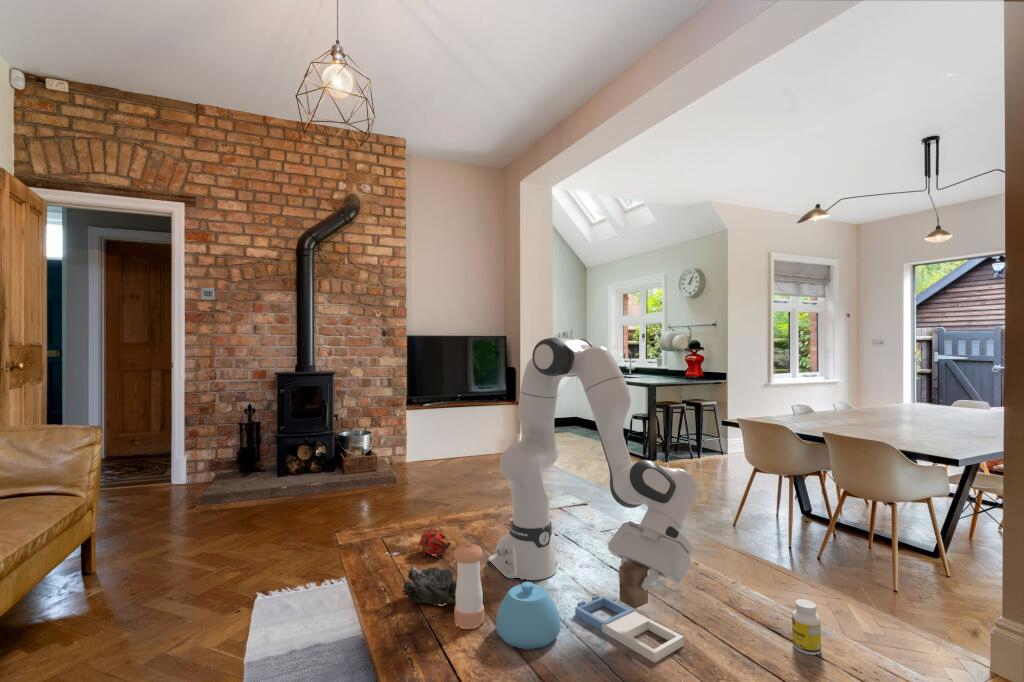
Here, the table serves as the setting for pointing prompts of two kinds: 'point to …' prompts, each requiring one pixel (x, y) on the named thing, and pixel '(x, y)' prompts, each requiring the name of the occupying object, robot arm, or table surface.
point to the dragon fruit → (434, 542)
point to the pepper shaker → (468, 586)
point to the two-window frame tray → (629, 627)
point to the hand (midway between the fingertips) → (631, 583)
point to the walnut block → (632, 584)
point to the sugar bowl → (528, 617)
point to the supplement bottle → (806, 627)
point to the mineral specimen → (431, 586)
